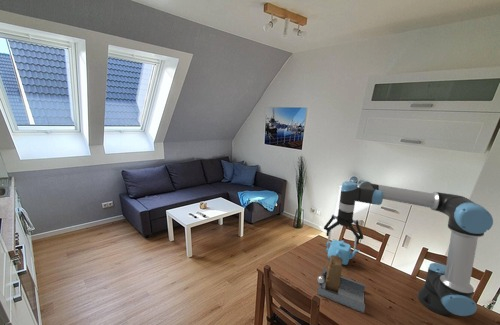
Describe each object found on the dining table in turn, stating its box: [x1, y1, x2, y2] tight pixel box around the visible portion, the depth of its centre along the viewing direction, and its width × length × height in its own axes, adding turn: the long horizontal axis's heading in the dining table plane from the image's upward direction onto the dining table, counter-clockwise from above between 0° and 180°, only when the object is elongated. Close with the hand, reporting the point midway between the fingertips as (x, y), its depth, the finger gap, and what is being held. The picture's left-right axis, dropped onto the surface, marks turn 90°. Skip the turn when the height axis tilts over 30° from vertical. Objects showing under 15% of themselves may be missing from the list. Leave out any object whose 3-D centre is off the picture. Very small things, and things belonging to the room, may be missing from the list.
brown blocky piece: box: [325, 255, 343, 293], centre depth 122 cm, size 11×8×20 cm
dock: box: [317, 267, 366, 314], centre depth 121 cm, size 25×17×10 cm
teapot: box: [326, 239, 361, 266], centre depth 151 cm, size 18×16×14 cm
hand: (341, 244), depth 119 cm, fingers open, 13 cm apart
